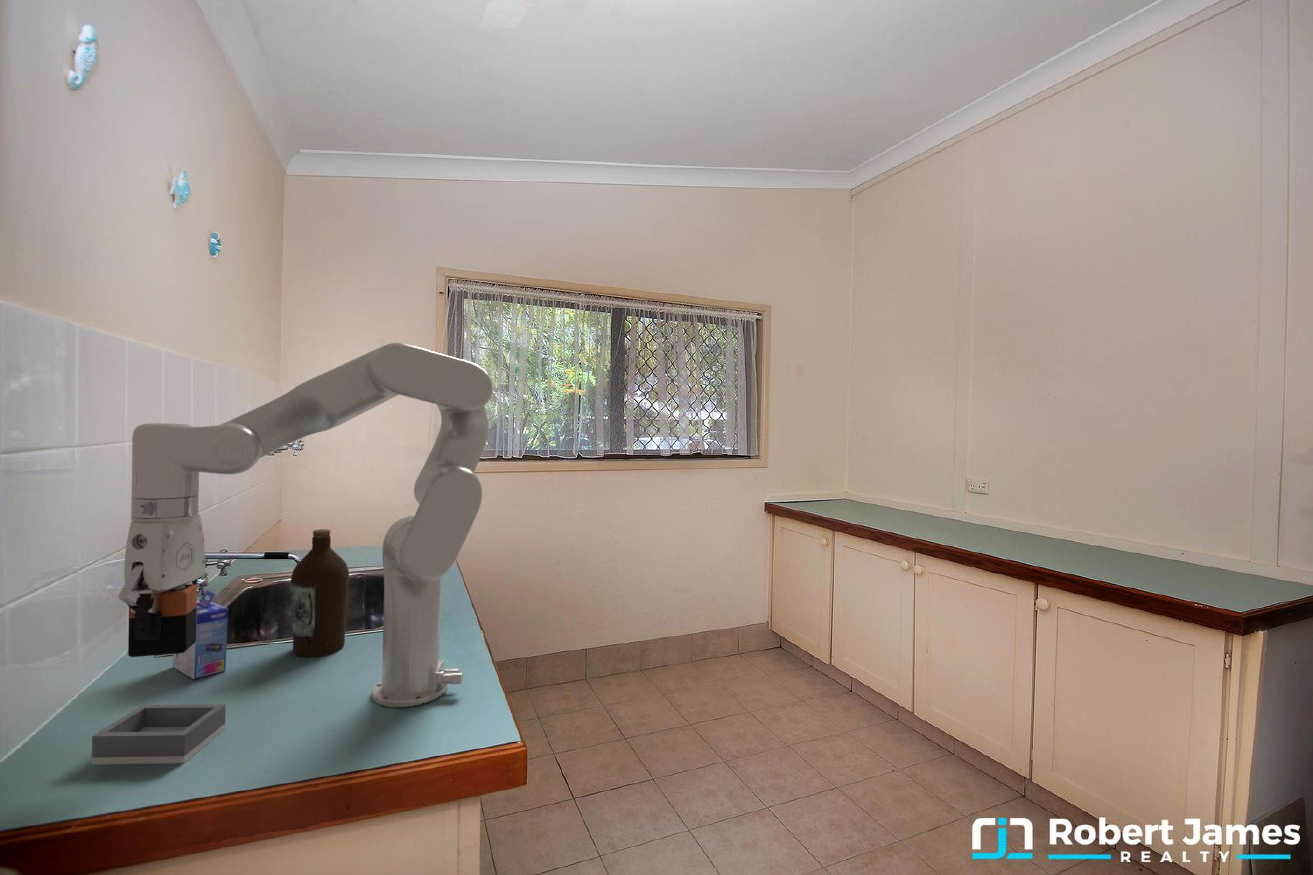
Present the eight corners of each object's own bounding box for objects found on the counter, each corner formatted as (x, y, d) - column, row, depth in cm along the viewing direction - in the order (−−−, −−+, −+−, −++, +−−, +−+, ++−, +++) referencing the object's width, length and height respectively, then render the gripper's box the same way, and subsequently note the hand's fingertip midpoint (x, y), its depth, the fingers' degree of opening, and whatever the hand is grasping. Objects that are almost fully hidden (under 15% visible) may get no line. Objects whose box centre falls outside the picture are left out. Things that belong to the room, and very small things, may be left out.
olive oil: (324, 636, 131) (327, 524, 130) (358, 644, 127) (361, 529, 126) (277, 652, 121) (279, 531, 121) (312, 662, 117) (315, 537, 116)
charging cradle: (225, 729, 92) (225, 704, 92) (184, 763, 83) (184, 735, 83) (142, 730, 91) (142, 704, 91) (91, 764, 82) (92, 736, 82)
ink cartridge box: (228, 670, 112) (230, 595, 112) (194, 681, 108) (195, 602, 107) (205, 658, 117) (207, 586, 117) (171, 667, 113) (172, 592, 112)
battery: (184, 653, 85) (186, 585, 85) (126, 658, 83) (127, 588, 83) (197, 642, 89) (198, 577, 89) (141, 647, 87) (142, 580, 87)
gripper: (148, 518, 78) (146, 655, 78) (230, 501, 95) (227, 613, 95) (86, 517, 77) (84, 655, 77) (180, 499, 94) (178, 612, 94)
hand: (163, 630), depth 86 cm, fingers closed on battery, 5 cm apart
